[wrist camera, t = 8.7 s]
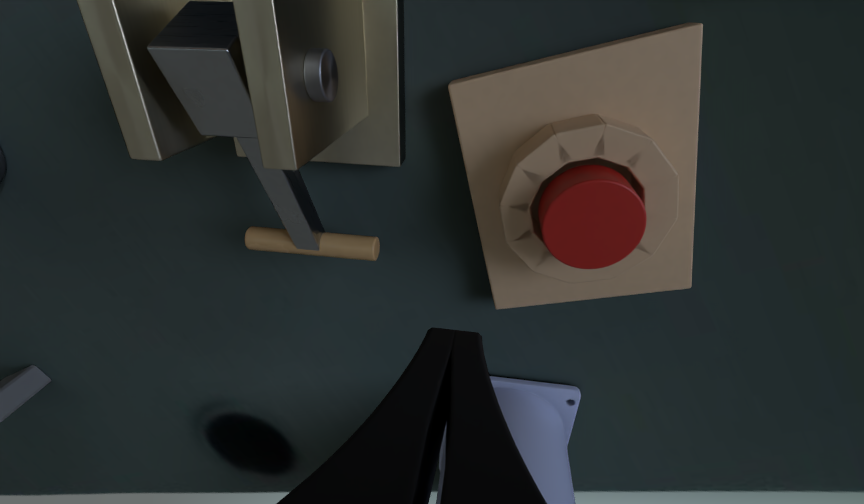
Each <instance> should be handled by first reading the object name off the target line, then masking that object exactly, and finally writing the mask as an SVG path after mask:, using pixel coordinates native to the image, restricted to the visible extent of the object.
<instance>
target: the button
mask: <svg viewBox="0 0 864 504" xmlns="http://www.w3.org/2000/svg"><path fill="white" fill-rule="evenodd" d="M538 217H539V222H540V228H541V233H542V238H543V241H544V244H545V246H546V248H547V249H548V251H549V252H550V253H551V254H552V255H553V256H554V257H555V258H556V259H557V260H559V261H560V262H562V263H564V264H566V265H568V266H571V267H574V268H579V269H598V268H603V267H607V266H610V265H612V264H615V263H617V262H619V261H621V260H622V259H624V258H625V257H627V256H628V255H629V254H630V253H631V252H632V251H633V250H634V249H635V248H636V247H637V245H638V244H639V243H640V241H641V239H642V237H643V234H644V232H645V228H646V222H647V216H646V210H645V206H644V204H643V202H642V200H641V198H640V197H639V195H638V194H637V193H636V192H635V190H634V189H633V188H632V186H631V185H630V184H629V182H628V181H627V180H626V179H625V178H624V176H622V175H621V174H620V173H619V172H617V171H615V170H614V169H611V168H609V167H606V166H602V165H581V166H577V167H574V168H571V169H568V170H567V171H565V172H563V173H561V174H560V175H558V176H557V177H556V178H554V179H553V180H552V181H551V182H550V183H549V184H548V186H547V187H546V189H545V190H544V192H543V194H542V196H541V199H540V202H539V207H538Z"/></svg>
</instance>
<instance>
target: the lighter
mask: <svg viewBox="0 0 864 504" xmlns="http://www.w3.org/2000/svg"><path fill="white" fill-rule="evenodd" d="M49 382H51V379H50V378H49V377H48V376H47V375H45V374H44V373H43V372H42V371H41V370H40V369H38V368H37V367H36V366H34V365H31V366H29V367H27V368H25V369H23V370H20V371H18V372H16V373H14V374H12V375H9V376H7V377H5V378H4V379H2V380H1V381H0V422H2V421H3V420H4V419H5V418H7V417H8V416H9V415H10V414H11V413H13V412H14V411H15V410H16V409H18V408H19V407H20V406H21V405H23V404H24V403H25V402H26V401H27V400H29V399H30V398H31V397H32V396H34V395H35V394H36V393H37V392H38V391H40V390H41V389H42V388H43V387H45V386H46V385H47V384H48V383H49Z"/></svg>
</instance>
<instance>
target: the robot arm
mask: <svg viewBox="0 0 864 504" xmlns="http://www.w3.org/2000/svg"><path fill="white" fill-rule="evenodd" d="M580 398H581V394H580V390H579V388H577V387H575V386H570V385H562V384H553V383H545V382H536V381H528V380H520V379H511V378H503V377H494V376H489V373H488V369H487V365H486V361H485V356H484V351H483V345H482V336H481V335H480V334H479V333H476V332H467V331H458V330H450V329H441V328H431V329H429V330H428V331H427V334H426V336H425V338H424V340H423V342H422V344H421V345H420V347H419V349H418V351H417V352H416V354H415V356H414V357H413V359H412V360H411V362H410V363H409V365H408V366H407V368H406V369H405V371H404V372H403V374H402V375H401V377H400V378H399V379H398V381H397V382H396V384H395V385H394V386H393V388H392V389H391V390H390V391H389V393H388V394H387V395H386V397H385V398H384V399H383V400H382V402H381V403H380V404H379V405H378V407H377V408H376V409H375V410H374V412H373V413H372V414H371V415H370V416H369V417H368V418H367V420H366V421H365V422H364V423H363V424H362V425H361V426H360V427H359V428H358V430H357V431H356V432H355V433H354V434H353V435H352V436H351V437H350V438H349V439H348V440H347V441H346V442H345V443H344V444H343V445H342V446H341V447H340V448H339V449H338V450H337V451H336V452H335V453H334V454H333V455H332V456H331V457H330V458H329V459H328V460H327V461H326V462H325V463H323V464H322V465H321V466H320V467H319V468H318V469H317V470H316V471H315V472H314V473H312V474H311V475H310V476H309V477H308V478H307V479H305V480H304V481H303V482H302V483H301V484H299V485H298V486H297V487H296V488H295V489H293V490H292V491H291V492H290V493H289V494H288V495H286V496H285V497H284V498H283V499H282V500H280V501H279V502H278V503H277V504H428V502H429V498H430V494H431V489H432V485H433V480H434V476H435V471H436V467H437V462H438V458H439V470H440V478H439V486H438V493H437V501H436V504H575V498H574V491H573V484H572V478H571V471H570V465H569V458H568V451H567V445H568V441H569V438H570V434H571V431H572V427H573V423H574V420H575V416H576V412H577V409H578V405H579V401H580ZM570 399H571V400H570ZM439 454H440V455H439Z"/></svg>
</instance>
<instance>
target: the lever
mask: <svg viewBox="0 0 864 504" xmlns="http://www.w3.org/2000/svg"><path fill="white" fill-rule="evenodd" d="M147 50H148V51H149V53H150V54H151V56H152V58H153V59H154V61H155V62H156V64H157V66H158V67H159V69H160V70H161V72H162V74H163V75H164V77H165V78H166V80H167V82H168V83H169V85H170V86H171V88H172V89H173V91H174V93H175V94H176V96H177V97H178V99H179V101H180V102H181V104H182V105H183V107H184V109H185V110H186V112H187V113H188V115H189V117H190V118H191V120H192V121H193V123H194V125H195V126H196V128H197V129H198V131H199V132H200V134H201V135H206V136H223V137H236V138H237V140H238V142H239V143H240V145H241V147H242V149H243V151H244V153H245V154H246V156H247V158H248V160H249V162H250V164H251V165H252V167H253V169H254V171H255V173H256V175H257V176H258V178H259V180H260V182H261V184H262V186H263V188H264V189H265V191H266V193H267V195H268V197H269V199H270V200H271V202H272V204H273V206H274V208H275V210H276V211H277V213H278V215H279V217H280V219H281V221H282V222H283V224H284V226H285V228H286V229H278V228H266V227H254V226H252V227H249V228H248V229H247V231H246V233H245V245H246V247H247V248H248V249H250V250H260V251H271V252H282V253H293V254H304V255H315V256H326V257H337V258H348V259H359V260H370V261H375V260H377V258H378V255H379V248H380V244H379V239H378V237H373V236H361V235H350V234H338V233H326V232H325V231H324V228H323V226H322V224H321V221H320V219H319V216H318V214H317V212H316V209H315V207H314V205H313V202H312V200H311V198H310V195H309V193H308V190H307V188H306V186H305V183H304V181H303V179H302V176H301V174H300V172H299V169H298V170H281V169H266V168H264V167H263V164H262V158H261V153H260V147H259V142H258V136H257V131H256V126H255V120H254V115H253V109H252V104H251V98H250V93H249V88H248V82H247V77H246V71H245V66H244V60H243V55H242V50H241V44H240V39H239V33H238V28H237V22H236V17H235V12H234V6H233V2H225V1H189V2H188V3H187V4H186V5H185V6H184V7H183V8H182V9H181V10H180V11H179V12H178V13H177V14H176V16H175V17H174V18H173V19H172V20H171V21H170V22H169V23H168V24H167V25H166V26H165V28H164V29H163V30H162V31H161V32H160V33H159V34H158V35H157V36H156V37H155V38H154V40H153V41H152V42H151V43H150V44H149V45H148V46H147Z"/></svg>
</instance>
